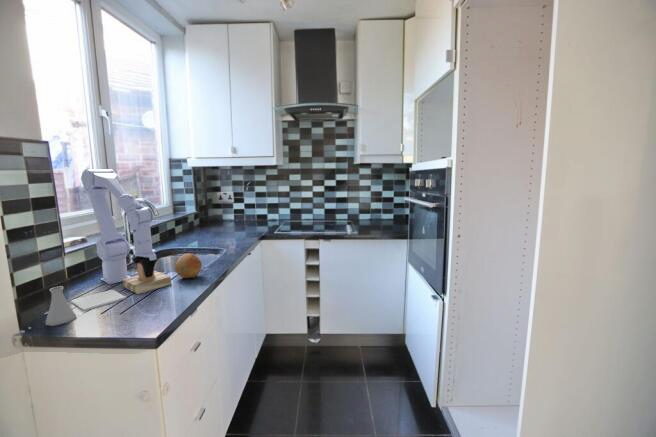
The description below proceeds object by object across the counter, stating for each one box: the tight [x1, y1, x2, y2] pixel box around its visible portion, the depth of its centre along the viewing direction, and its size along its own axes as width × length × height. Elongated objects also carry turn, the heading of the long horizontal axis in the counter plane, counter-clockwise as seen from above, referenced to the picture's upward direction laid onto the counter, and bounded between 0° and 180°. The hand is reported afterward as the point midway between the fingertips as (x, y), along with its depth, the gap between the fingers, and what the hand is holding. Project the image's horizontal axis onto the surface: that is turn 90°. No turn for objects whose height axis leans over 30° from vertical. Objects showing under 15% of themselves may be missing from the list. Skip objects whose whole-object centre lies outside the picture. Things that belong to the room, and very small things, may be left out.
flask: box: [45, 285, 77, 327], centre depth 92 cm, size 7×7×10 cm
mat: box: [70, 289, 127, 312], centre depth 107 cm, size 12×12×1 cm
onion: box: [174, 253, 202, 279], centre depth 127 cm, size 10×10×10 cm
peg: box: [136, 263, 155, 281], centre depth 119 cm, size 4×4×9 cm
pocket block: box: [122, 270, 172, 295], centre depth 120 cm, size 12×12×3 cm
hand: (146, 275), depth 119 cm, fingers closed on peg, 4 cm apart
